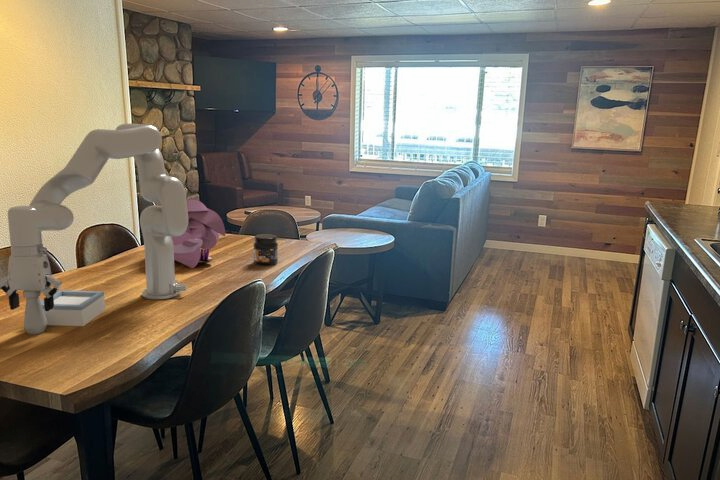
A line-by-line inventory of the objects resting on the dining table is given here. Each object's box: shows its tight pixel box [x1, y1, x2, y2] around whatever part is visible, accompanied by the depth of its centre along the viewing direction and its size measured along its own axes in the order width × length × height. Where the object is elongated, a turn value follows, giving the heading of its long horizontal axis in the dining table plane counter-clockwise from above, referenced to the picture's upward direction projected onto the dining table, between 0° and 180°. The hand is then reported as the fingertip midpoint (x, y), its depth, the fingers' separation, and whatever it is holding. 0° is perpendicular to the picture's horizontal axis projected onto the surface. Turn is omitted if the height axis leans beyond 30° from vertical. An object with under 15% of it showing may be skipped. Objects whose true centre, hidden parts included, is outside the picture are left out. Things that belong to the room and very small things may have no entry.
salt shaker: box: [22, 291, 48, 335], centre depth 153 cm, size 6×6×13 cm
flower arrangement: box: [172, 199, 226, 269], centre depth 231 cm, size 35×24×28 cm
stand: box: [40, 289, 106, 327], centre depth 165 cm, size 14×14×6 cm
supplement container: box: [252, 233, 279, 266], centre depth 233 cm, size 10×10×12 cm
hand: (32, 308), depth 152 cm, fingers open, 9 cm apart
